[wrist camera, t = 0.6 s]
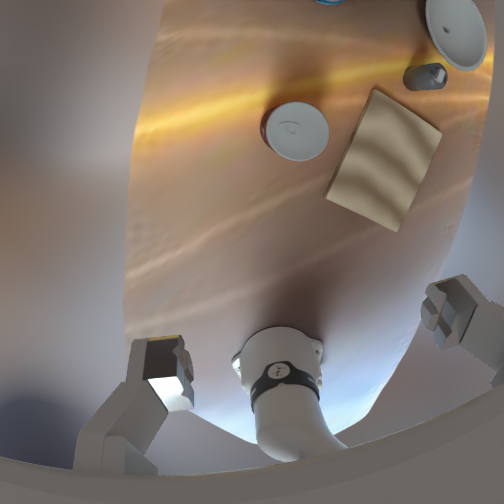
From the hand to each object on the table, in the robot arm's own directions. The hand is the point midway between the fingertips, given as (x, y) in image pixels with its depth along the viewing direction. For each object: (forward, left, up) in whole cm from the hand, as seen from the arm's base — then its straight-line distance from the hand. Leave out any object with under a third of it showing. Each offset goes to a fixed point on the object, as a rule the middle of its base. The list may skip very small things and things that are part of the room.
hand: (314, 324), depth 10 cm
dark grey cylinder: (+10, -30, -43) cm, 53 cm away
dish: (+20, -40, -43) cm, 62 cm away
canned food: (+4, -6, -43) cm, 44 cm away
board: (-4, -22, -43) cm, 48 cm away
